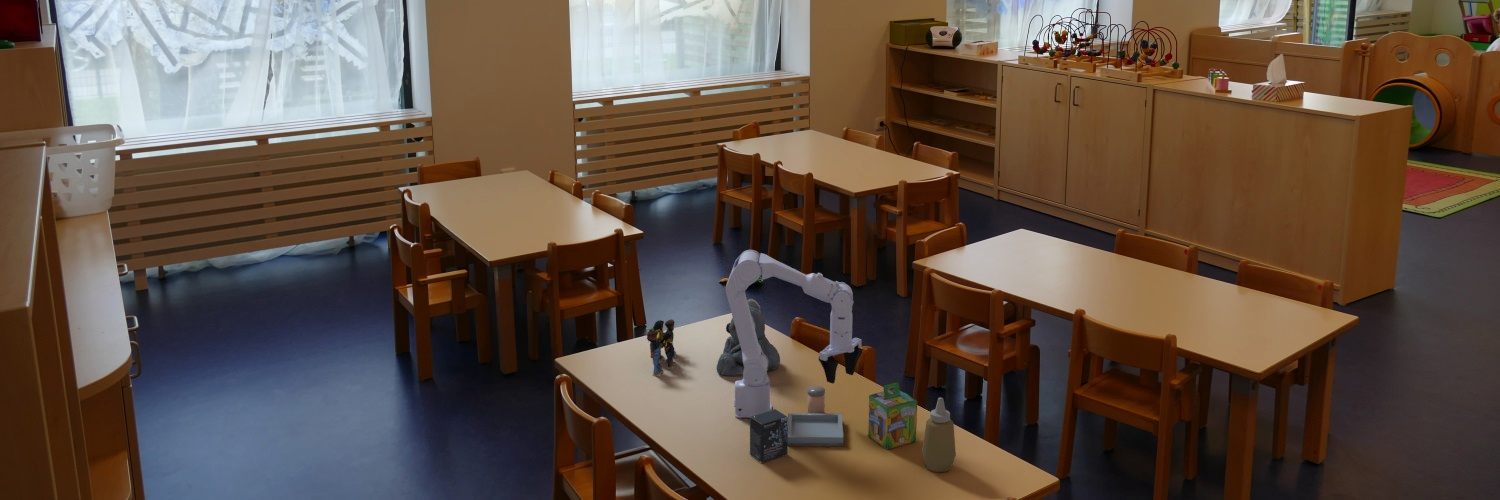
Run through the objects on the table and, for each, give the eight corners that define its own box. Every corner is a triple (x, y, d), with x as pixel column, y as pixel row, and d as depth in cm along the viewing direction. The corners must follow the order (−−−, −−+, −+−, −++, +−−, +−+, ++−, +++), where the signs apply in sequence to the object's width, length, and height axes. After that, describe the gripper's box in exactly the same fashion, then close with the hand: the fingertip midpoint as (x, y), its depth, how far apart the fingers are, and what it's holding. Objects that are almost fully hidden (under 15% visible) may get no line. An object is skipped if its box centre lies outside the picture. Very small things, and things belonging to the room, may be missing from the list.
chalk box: (887, 450, 291) (888, 395, 287) (866, 436, 299) (867, 382, 295) (917, 442, 295) (919, 388, 291) (896, 428, 303) (898, 375, 299)
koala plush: (724, 354, 353) (723, 293, 348) (783, 357, 351) (783, 295, 345) (714, 377, 337) (713, 313, 331) (777, 380, 334) (776, 315, 329)
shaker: (807, 417, 310) (807, 393, 308) (807, 410, 315) (807, 386, 313) (825, 417, 310) (825, 393, 308) (824, 410, 314) (824, 386, 312)
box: (762, 463, 286) (761, 424, 283) (749, 455, 290) (748, 416, 287) (788, 455, 290) (788, 416, 287) (775, 446, 294) (775, 408, 291)
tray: (787, 445, 295) (787, 437, 294) (788, 421, 308) (787, 413, 307) (843, 446, 294) (843, 437, 293) (841, 421, 307) (841, 413, 307)
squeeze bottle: (918, 460, 286) (920, 392, 281) (950, 458, 287) (953, 390, 281) (925, 476, 278) (927, 406, 273) (959, 474, 279) (961, 404, 274)
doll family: (679, 378, 336) (678, 335, 332) (648, 380, 335) (646, 337, 332) (675, 349, 358) (674, 308, 354) (646, 350, 357) (644, 309, 353)
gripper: (834, 341, 298) (833, 390, 302) (870, 326, 308) (869, 374, 312) (813, 334, 303) (813, 382, 307) (850, 320, 313) (849, 367, 317)
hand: (840, 378), depth 310 cm, fingers open, 7 cm apart
